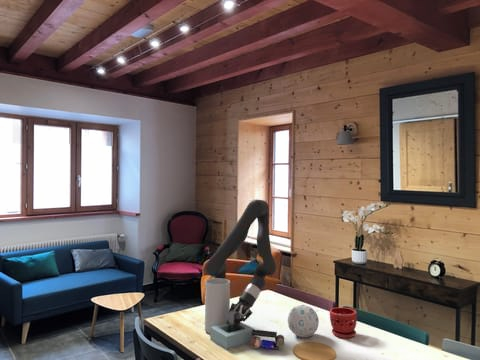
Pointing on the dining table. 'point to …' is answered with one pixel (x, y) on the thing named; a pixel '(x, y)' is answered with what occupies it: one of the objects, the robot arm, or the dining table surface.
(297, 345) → the dining table surface
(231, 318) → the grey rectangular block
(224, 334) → the well block
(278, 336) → the figurine character
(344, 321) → the plant pot
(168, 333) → the dining table surface
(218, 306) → the cylinder vase
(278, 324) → the dining table surface
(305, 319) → the puzzle ball
